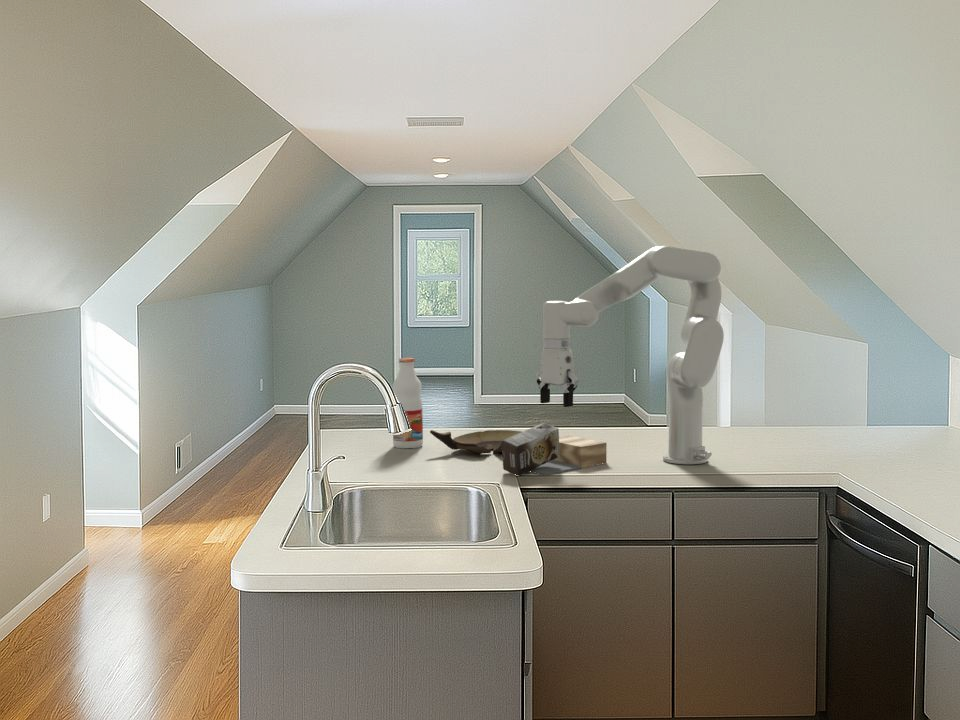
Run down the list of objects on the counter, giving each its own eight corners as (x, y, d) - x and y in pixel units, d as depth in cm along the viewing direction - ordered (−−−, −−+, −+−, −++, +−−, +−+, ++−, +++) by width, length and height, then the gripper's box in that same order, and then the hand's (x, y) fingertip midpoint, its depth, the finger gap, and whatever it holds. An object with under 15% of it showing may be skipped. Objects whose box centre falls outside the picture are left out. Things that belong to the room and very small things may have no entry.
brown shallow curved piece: (529, 458, 291) (528, 433, 290) (428, 458, 293) (427, 432, 293) (530, 445, 313) (530, 421, 313) (437, 444, 316) (436, 420, 315)
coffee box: (560, 457, 276) (518, 478, 267) (544, 450, 281) (502, 470, 272) (559, 427, 273) (516, 447, 264) (543, 421, 278) (500, 440, 268)
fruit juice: (397, 443, 317) (395, 356, 315) (425, 444, 316) (424, 357, 313) (389, 449, 308) (388, 359, 305) (419, 449, 307) (418, 360, 304)
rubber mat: (582, 468, 276) (582, 466, 276) (544, 475, 268) (544, 473, 267) (539, 459, 290) (539, 457, 290) (502, 465, 282) (502, 463, 282)
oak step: (606, 463, 283) (606, 442, 283) (581, 467, 277) (581, 446, 277) (568, 455, 296) (568, 435, 295) (543, 459, 290) (543, 439, 289)
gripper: (587, 345, 274) (587, 406, 276) (546, 342, 288) (546, 400, 290) (567, 347, 270) (567, 409, 271) (526, 343, 283) (526, 402, 285)
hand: (556, 404), depth 280 cm, fingers open, 9 cm apart
